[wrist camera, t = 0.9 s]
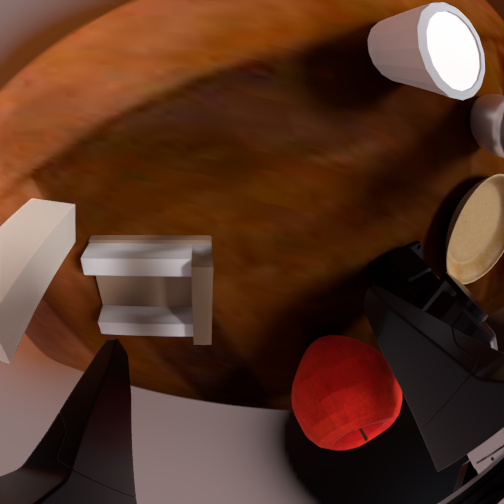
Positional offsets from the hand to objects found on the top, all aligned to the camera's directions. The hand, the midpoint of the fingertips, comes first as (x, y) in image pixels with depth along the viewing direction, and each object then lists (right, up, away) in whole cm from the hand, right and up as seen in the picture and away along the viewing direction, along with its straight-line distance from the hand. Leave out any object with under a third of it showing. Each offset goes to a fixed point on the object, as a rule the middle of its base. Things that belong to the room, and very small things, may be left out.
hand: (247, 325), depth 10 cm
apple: (+9, -9, +24) cm, 27 cm away
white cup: (+12, +19, +7) cm, 23 cm away
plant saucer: (+27, +6, +18) cm, 33 cm away
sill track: (-8, 0, +15) cm, 17 cm away
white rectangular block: (-16, +5, +10) cm, 20 cm away
